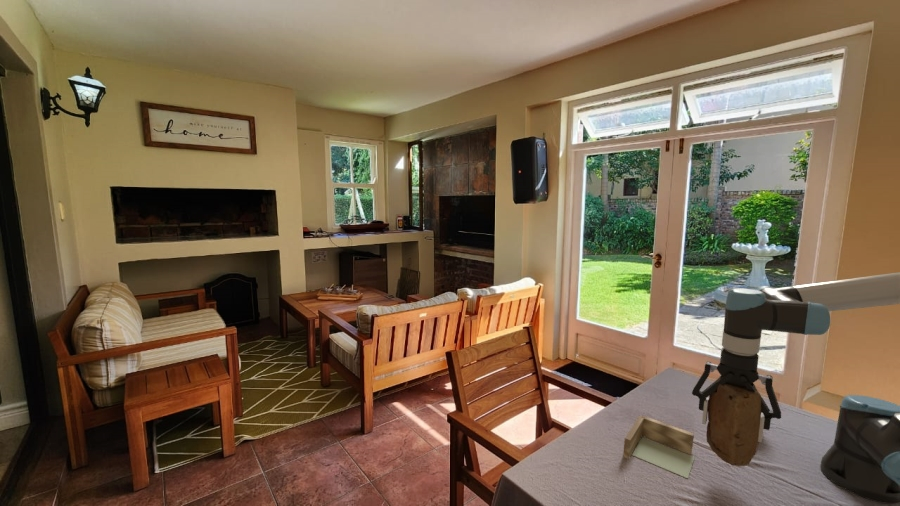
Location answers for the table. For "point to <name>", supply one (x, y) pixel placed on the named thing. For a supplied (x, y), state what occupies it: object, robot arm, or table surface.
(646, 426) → the wooden l-shaped piece
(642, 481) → the table surface
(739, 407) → the brown sandstone rock
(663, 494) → the table surface
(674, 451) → the pad
